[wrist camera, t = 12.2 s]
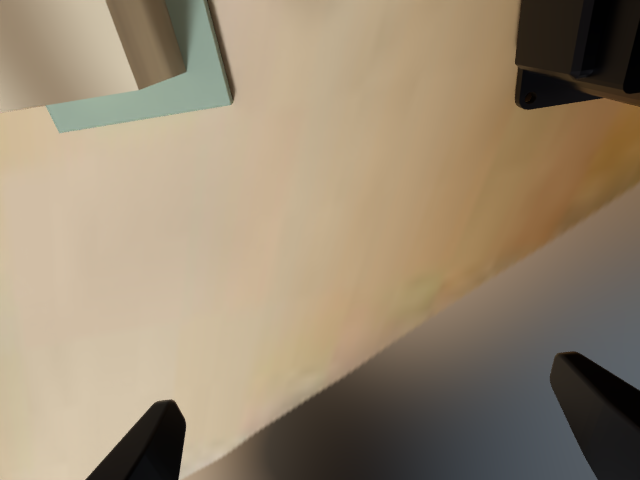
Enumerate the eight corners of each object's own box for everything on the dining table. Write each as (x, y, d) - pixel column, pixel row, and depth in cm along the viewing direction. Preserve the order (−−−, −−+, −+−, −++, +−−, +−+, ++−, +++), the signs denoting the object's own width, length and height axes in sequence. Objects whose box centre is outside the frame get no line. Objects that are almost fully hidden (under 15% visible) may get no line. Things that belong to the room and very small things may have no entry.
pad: (171, -138, 13) (165, -145, 12) (233, 102, 17) (230, 105, 16) (-44, -94, 13) (-59, -99, 13) (67, 129, 17) (59, 133, 17)
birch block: (140, -81, 13) (55, -134, 9) (186, 71, 15) (138, 90, 11) (7, -56, 13) (-139, -94, 9) (74, 90, 16) (-15, 115, 11)
